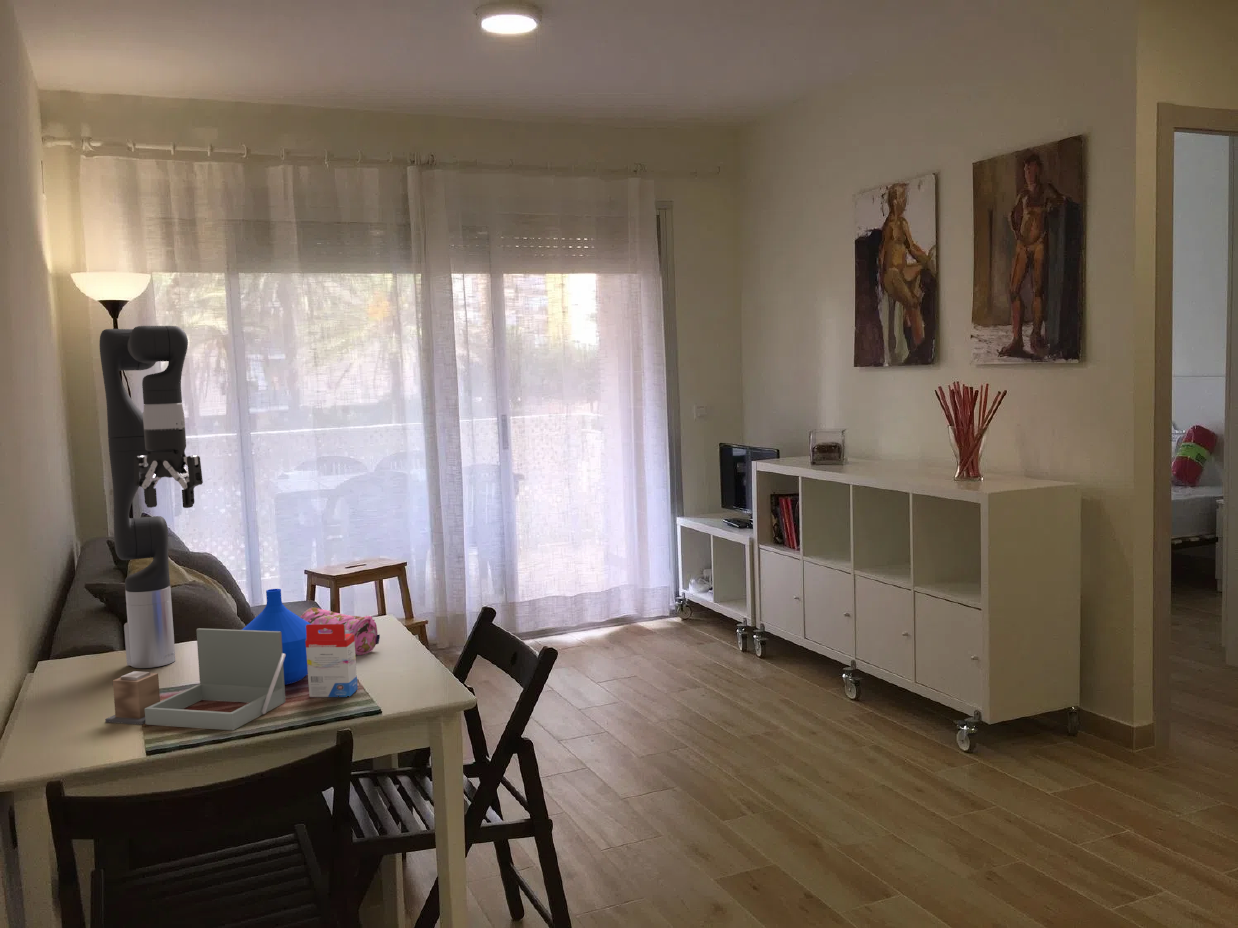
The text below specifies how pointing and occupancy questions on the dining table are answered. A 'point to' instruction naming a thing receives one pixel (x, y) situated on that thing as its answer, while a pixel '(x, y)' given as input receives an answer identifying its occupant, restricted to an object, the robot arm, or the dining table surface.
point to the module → (135, 694)
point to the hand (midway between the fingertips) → (170, 507)
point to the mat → (125, 720)
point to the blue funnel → (284, 634)
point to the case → (228, 680)
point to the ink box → (330, 661)
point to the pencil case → (347, 627)
